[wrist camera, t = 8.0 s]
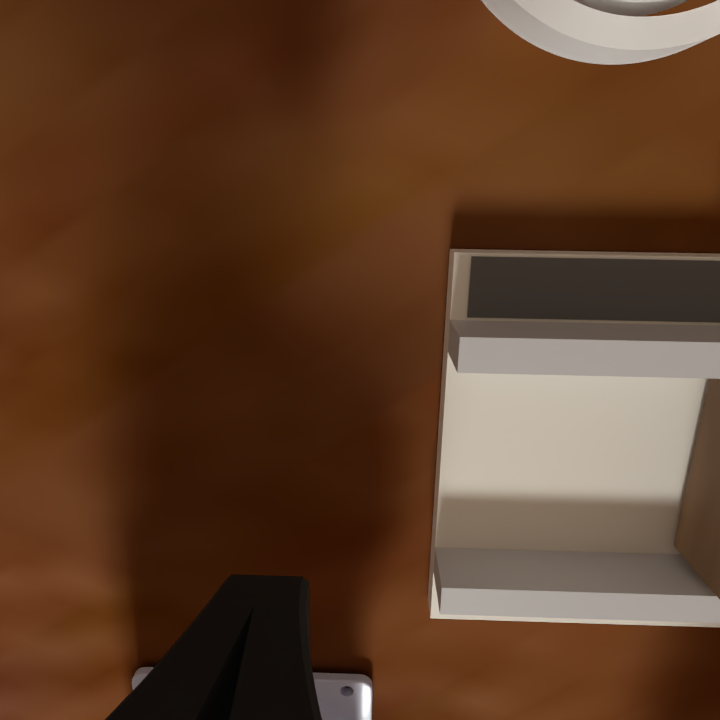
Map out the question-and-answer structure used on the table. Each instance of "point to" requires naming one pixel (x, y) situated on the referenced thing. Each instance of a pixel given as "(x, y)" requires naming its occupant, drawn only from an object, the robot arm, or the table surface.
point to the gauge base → (571, 436)
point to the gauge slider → (704, 497)
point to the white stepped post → (607, 27)
